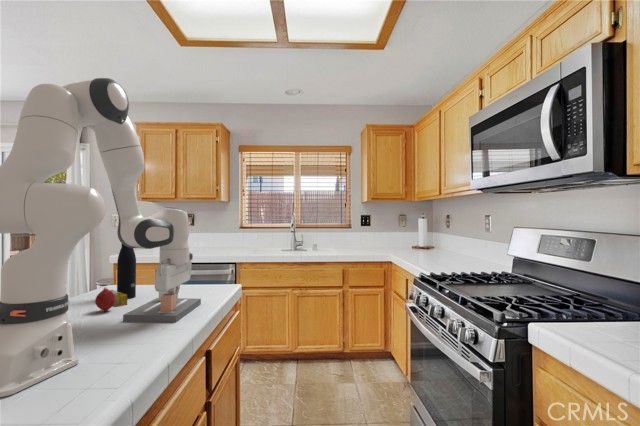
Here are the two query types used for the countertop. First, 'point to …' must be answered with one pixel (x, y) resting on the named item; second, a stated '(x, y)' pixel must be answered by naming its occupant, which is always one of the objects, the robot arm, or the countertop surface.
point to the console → (154, 314)
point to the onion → (105, 299)
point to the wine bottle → (126, 272)
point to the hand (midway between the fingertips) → (173, 299)
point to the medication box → (120, 298)
